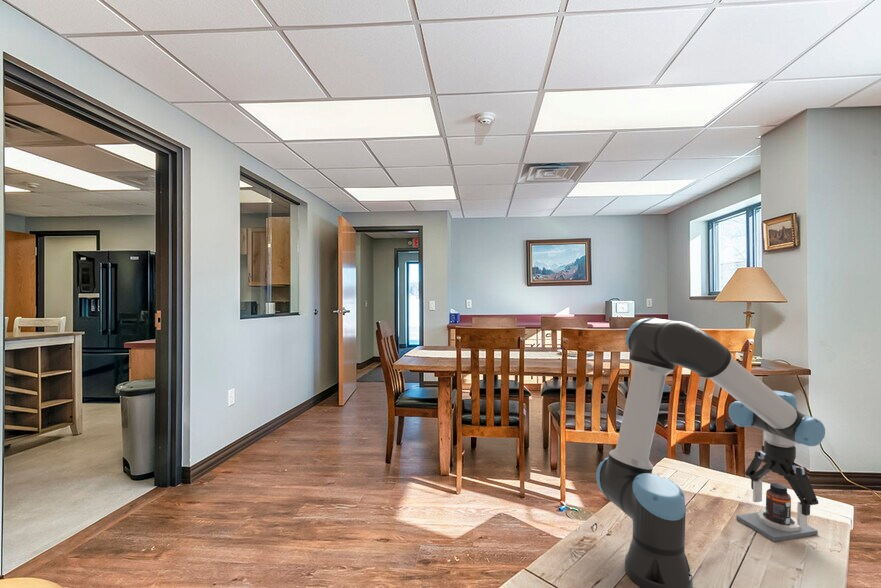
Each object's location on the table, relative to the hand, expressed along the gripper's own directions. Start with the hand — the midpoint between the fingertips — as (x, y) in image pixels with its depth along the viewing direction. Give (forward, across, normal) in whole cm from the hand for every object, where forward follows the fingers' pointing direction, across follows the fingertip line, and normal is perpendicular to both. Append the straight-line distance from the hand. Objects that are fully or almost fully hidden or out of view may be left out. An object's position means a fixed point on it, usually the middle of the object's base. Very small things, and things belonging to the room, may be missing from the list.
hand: (778, 512), depth 129 cm
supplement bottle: (+3, 0, 0) cm, 3 cm away
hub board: (+4, 0, +1) cm, 4 cm away
